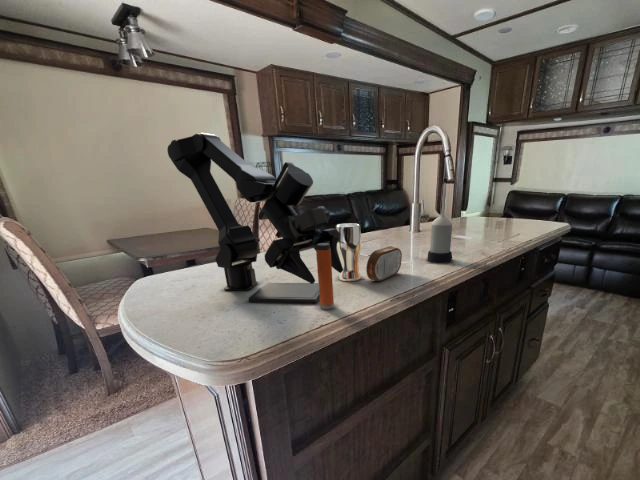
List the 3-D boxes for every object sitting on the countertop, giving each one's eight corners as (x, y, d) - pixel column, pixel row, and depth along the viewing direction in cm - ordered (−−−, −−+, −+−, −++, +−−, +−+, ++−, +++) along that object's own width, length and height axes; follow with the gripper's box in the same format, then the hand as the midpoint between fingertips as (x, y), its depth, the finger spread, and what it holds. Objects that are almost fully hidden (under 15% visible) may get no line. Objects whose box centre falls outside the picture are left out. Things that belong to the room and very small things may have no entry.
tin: (394, 270, 97) (394, 243, 94) (403, 272, 95) (404, 244, 92) (365, 283, 86) (364, 252, 83) (375, 285, 84) (374, 254, 81)
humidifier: (455, 259, 109) (462, 182, 100) (445, 264, 103) (451, 183, 94) (434, 256, 114) (438, 182, 105) (423, 261, 108) (426, 183, 99)
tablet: (248, 302, 74) (248, 297, 73) (268, 286, 85) (267, 282, 84) (316, 303, 72) (315, 298, 72) (326, 286, 83) (326, 282, 83)
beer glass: (363, 275, 93) (362, 223, 88) (360, 282, 87) (359, 226, 82) (340, 274, 94) (337, 223, 89) (335, 281, 88) (332, 226, 82)
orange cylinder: (318, 309, 69) (314, 245, 64) (322, 304, 72) (317, 242, 67) (332, 309, 69) (328, 245, 64) (335, 304, 71) (331, 242, 66)
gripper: (266, 196, 57) (317, 263, 55) (332, 192, 71) (374, 244, 69) (245, 236, 64) (289, 297, 62) (309, 225, 78) (347, 274, 76)
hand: (328, 276), depth 67 cm, fingers open, 9 cm apart
